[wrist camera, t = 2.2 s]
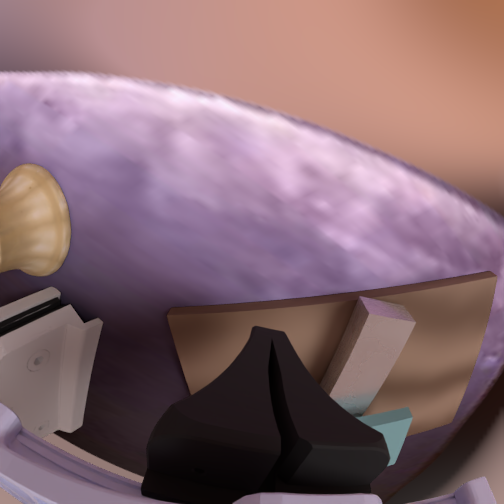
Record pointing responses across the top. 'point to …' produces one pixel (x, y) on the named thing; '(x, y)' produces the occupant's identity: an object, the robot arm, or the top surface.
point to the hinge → (46, 362)
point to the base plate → (331, 332)
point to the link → (367, 353)
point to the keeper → (391, 428)
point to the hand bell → (33, 222)
